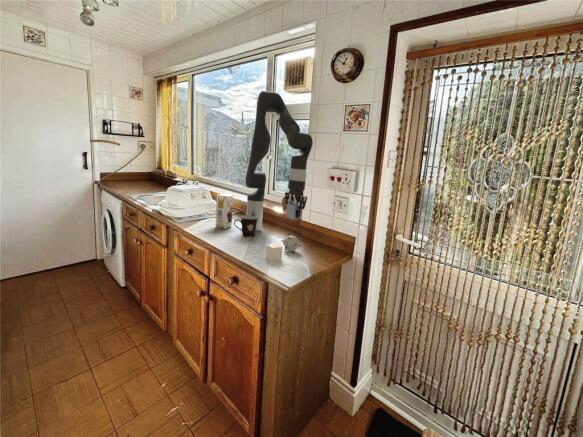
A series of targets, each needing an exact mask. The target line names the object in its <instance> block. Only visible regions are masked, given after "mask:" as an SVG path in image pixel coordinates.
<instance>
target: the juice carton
mask: <svg viewBox="0 0 583 437" xmlns="http://www.w3.org/2000/svg"><path fill="white" fill-rule="evenodd" d="M233 196H234V195H233V194H232V193H224V192H223V193H218V194H216V206H215V228H217V229H224V230H227V229H228V228H231V227H232V223H233V205H234V204H233V202H234V197H233Z"/></svg>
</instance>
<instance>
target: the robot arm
mask: <svg viewBox="0 0 583 437" xmlns="http://www.w3.org/2000/svg"><path fill="white" fill-rule="evenodd" d="M256 100H257V102H256V112H255V113H256V114H255V121H254V122H255V124H254V130H253V136H252V140H251V150H250V154H249V156H250V157H249V162H248V167H247V170H246V175H245V179H244V180H245V186H246V187H247V188H250V189H256V190H255V191H254V192H252V193H248V194H247V197H246V212H245V216H255V217H258V219H257V224H256V230H255V232H260V231H262V227H263V226H262V225H263V216H264V215H263V212H264V198H265V190H266V183H267V176H266V172H264V171H256V168H257V166H258V165H259V163H260V162H262V161H263V159H264V158H265V157H266V156H267V155H268V153H269V151H270V145H271V141H272V139H271V134H270V131H269V129H268V127H267V123H266V119H267V118H266V117H267V116H266V115H267V113H275V114H277V116H279V117H278V125H279V127H280V129H281V130H282V132H283V133H284V135H285V137H286V140H287V144H288V145H289V146H290V148H292V149H293V150H299V151H298V153H297V154H293V155H292V156H291V158H290V166H289V167H290V169H289V175H288V185H287V188H288V190H289V191H285V192H284V202H285V203H284V204H285V206H287V204H295V205H296V214H295V218H300V214H301V210H302V211H303V210H305V207H306V204H307V202H308V197H307V196H304V194H303V193H304V191H305V189H306V180H307V179H306V178H307V166H308V165H307V163H308V158H309V157H310V152H311V151H312V147H313V142H314V141H313V137H312V135H311V134H309V133H305V132H304V133H303V132H301V128H300V125H299V124H298V123H297V121H296V120H295V119H294V118H293V116H292V115H291V113H290V112H289V110H288V108H287V105H286V104H285V101H284V100H283V98H282V96H281V95H280V93H277V92H275V91H265V90H262V91H260V92H259V94H258V96H257V99H256ZM298 205H299V207H298Z"/></svg>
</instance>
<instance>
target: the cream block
mask: <svg viewBox="0 0 583 437" xmlns="http://www.w3.org/2000/svg"><path fill="white" fill-rule="evenodd" d="M282 258H283V246H282V245H280V244H278V243H270V244H269V243H268V244H266V245H265V259H266V260H268V261H270V262H272V263H273V262H277V261H282Z"/></svg>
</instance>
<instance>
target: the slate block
mask: <svg viewBox="0 0 583 437" xmlns="http://www.w3.org/2000/svg"><path fill="white" fill-rule="evenodd" d="M298 207H299V205H298ZM295 214H296V205H295V203H294V204H287V205H286V210H285V217H286V218H288V219H289V220H290V219H291V220H299V219H300V220H301V219H302V214H303V209H302V210H301V214H300V218H295Z"/></svg>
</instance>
